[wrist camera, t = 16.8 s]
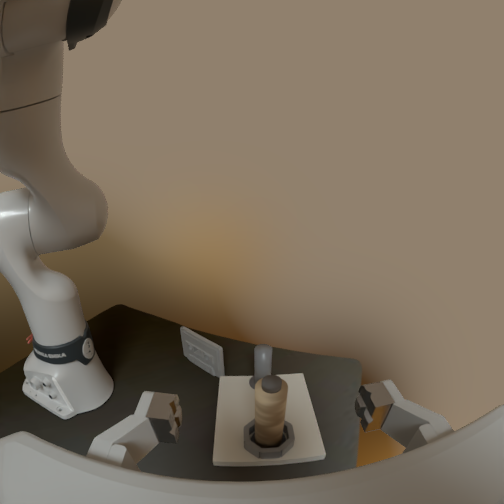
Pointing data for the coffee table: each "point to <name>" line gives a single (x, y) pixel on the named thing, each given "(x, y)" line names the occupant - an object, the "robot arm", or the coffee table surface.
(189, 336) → the cassette
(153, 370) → the coffee table surface
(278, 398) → the wooden leg
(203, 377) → the coffee table surface
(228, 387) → the plate
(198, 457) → the coffee table surface
